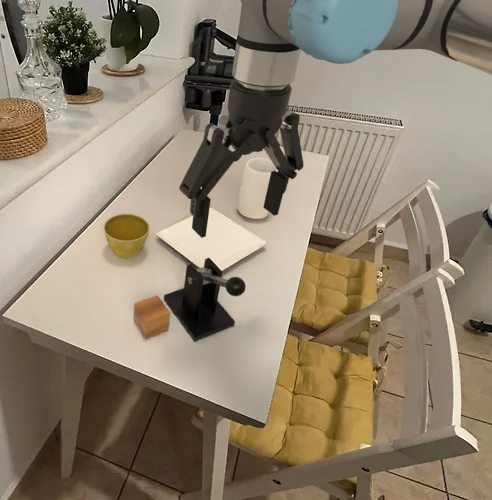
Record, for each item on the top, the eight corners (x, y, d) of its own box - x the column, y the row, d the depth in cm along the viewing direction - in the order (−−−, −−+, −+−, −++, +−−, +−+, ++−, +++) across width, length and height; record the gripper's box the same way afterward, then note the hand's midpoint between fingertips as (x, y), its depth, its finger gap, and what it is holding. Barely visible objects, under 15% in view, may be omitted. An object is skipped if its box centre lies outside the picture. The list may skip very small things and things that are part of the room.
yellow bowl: (156, 248, 100) (158, 223, 96) (132, 272, 94) (132, 247, 89) (122, 232, 105) (121, 208, 100) (96, 254, 98) (94, 230, 94)
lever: (251, 294, 69) (248, 276, 69) (234, 301, 68) (231, 282, 68) (208, 279, 81) (205, 263, 81) (193, 285, 80) (190, 268, 79)
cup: (234, 220, 109) (244, 171, 100) (236, 202, 116) (245, 155, 107) (268, 225, 108) (281, 176, 99) (268, 207, 114) (280, 159, 105)
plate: (154, 239, 103) (155, 232, 102) (209, 212, 112) (210, 206, 111) (210, 283, 92) (211, 276, 91) (266, 249, 101) (268, 242, 100)
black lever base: (234, 325, 83) (244, 282, 75) (194, 342, 80) (201, 298, 72) (200, 286, 91) (207, 243, 84) (163, 299, 88) (166, 255, 80)
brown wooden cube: (168, 330, 82) (170, 312, 79) (145, 339, 80) (145, 321, 77) (156, 312, 85) (157, 294, 82) (133, 320, 83) (133, 303, 80)
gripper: (315, 61, 60) (282, 192, 74) (159, 85, 52) (153, 228, 65) (357, 77, 55) (313, 214, 68) (191, 106, 46) (178, 257, 60)
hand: (235, 221), depth 67 cm, fingers open, 13 cm apart
